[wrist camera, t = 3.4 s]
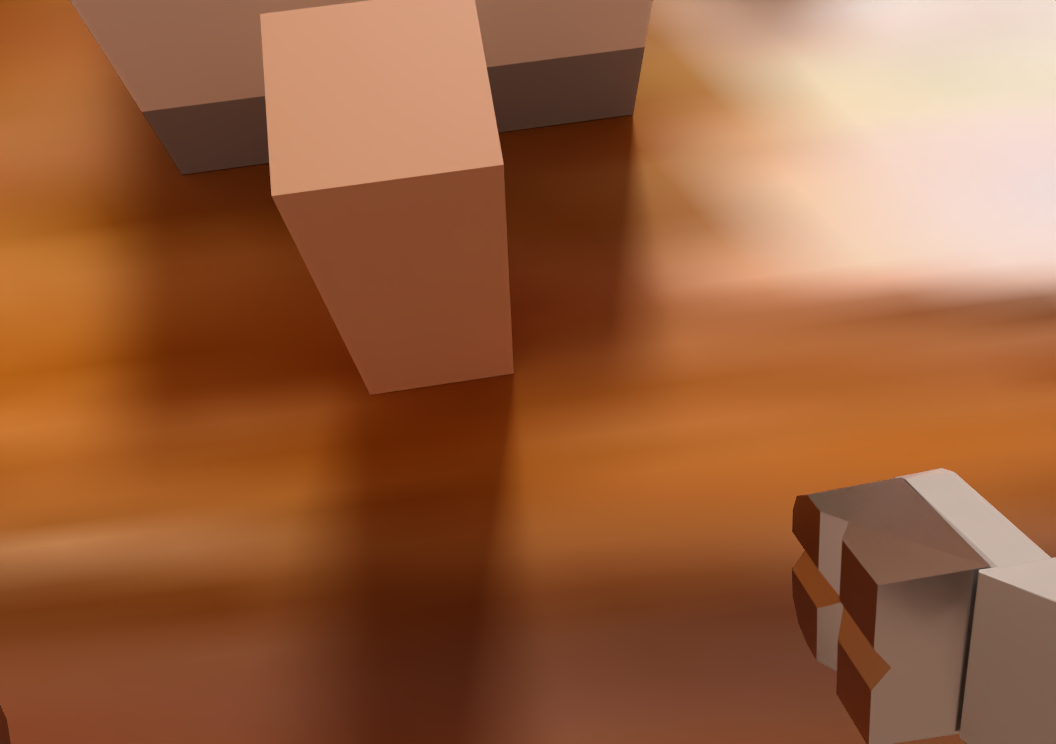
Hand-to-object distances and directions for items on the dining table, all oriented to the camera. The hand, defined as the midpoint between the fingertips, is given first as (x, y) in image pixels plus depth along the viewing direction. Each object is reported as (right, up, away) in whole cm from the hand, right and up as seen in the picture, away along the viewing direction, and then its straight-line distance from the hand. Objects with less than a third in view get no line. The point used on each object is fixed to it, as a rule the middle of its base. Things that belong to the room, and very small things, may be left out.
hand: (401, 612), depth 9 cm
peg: (-1, +4, +16) cm, 17 cm away
